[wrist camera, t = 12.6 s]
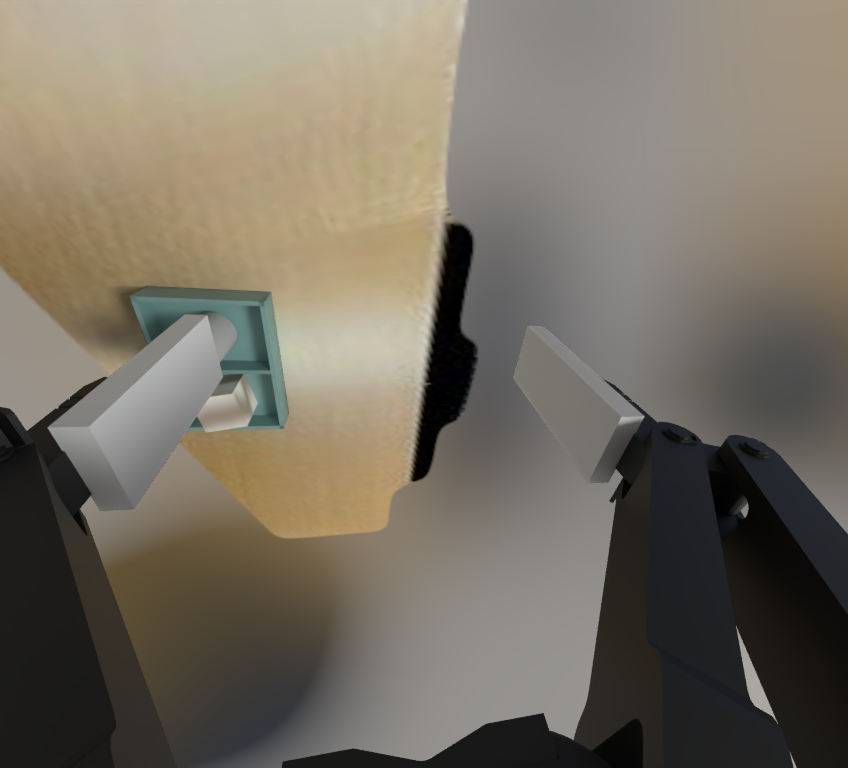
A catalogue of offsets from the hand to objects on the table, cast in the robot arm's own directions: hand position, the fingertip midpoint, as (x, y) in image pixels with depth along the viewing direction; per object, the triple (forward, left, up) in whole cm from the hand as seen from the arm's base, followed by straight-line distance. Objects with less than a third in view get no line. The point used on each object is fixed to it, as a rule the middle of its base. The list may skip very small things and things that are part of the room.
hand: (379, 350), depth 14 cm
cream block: (+20, -18, -28) cm, 39 cm away
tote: (+16, -18, -29) cm, 37 cm away
